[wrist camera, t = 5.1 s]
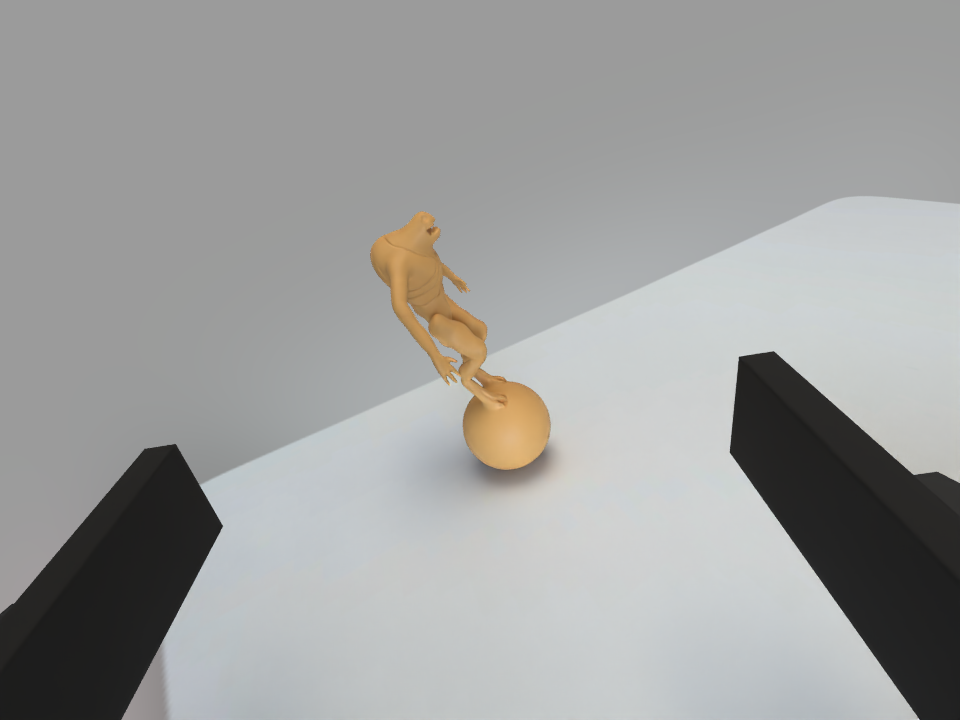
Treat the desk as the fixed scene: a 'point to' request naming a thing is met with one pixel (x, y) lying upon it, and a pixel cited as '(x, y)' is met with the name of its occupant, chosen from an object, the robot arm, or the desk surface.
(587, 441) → the desk surface
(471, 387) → the figurine
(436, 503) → the desk surface
